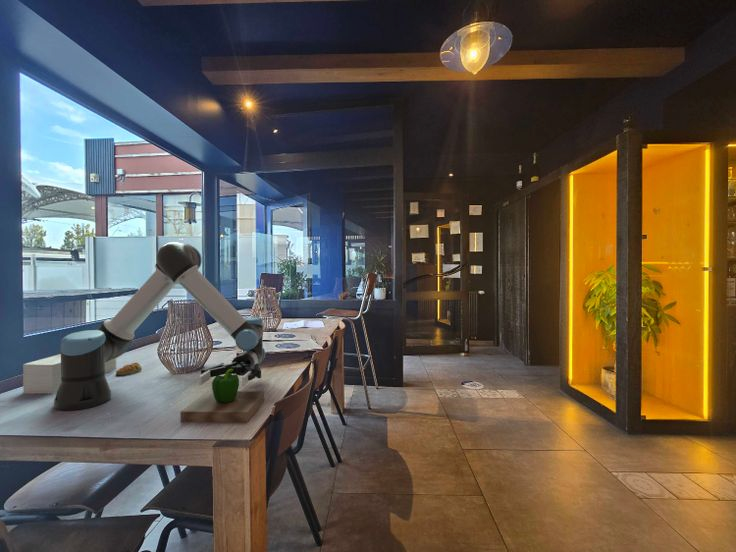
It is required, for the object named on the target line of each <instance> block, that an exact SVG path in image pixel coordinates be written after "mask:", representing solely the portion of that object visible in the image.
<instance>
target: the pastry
mask: <svg viewBox="0 0 736 552" xmlns="http://www.w3.org/2000/svg"><path fill="white" fill-rule="evenodd" d="M142 370H143V368H142V366H141V364H140V363H139V362H133V363H130V364H125V365H124V366H123V367H121V368H119V369H118V370H116V371H115V376H121V377H122V376H123V375H124V376H128V375H133V374H136V373H140V372H141V371H142Z"/></svg>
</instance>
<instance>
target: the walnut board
mask: <svg viewBox="0 0 736 552" xmlns="http://www.w3.org/2000/svg"><path fill="white" fill-rule="evenodd" d="M264 401H265V391H259V390H258V391H247V390H242V391H241V390H238V392H237V395H236V397H235V399H234V401H232V402H229V403H223V402H217V401H216V400H215V397H214V394H213V390H206V391H205V392H204V393H202V394H201V395H200V396H199V397H198V398H196V399H194V400H193V401H192V402H191V403H190V404H189V405H187V406H186V407H184V408H183V409H182V410H180V414H179V415H180V417H179V419H180V422H193V421H195V423H196V422H198V421H200V422H199V423H201V422H202V423H203V421H205V422H204V423H206V422H209V423H210V422H212V423H213V422H214V423H248V422H249V420H251V418H252V416H253V415H254V414H255V413H256V411H257V410H258V409H259V408H260V406H261V405H262V403H264Z"/></svg>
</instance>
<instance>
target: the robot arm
mask: <svg viewBox="0 0 736 552" xmlns="http://www.w3.org/2000/svg"><path fill="white" fill-rule="evenodd" d="M202 261H203V260H202V254H201V253H200V251H199V250H198V249H197V248H196V247H194V246H192V244H188V243H180V242H177V241H172V242H168V243H166V244H164V245H162V246H161V247H160V248H159V249H158V251H157V253H156V263H155V264H154V267H155V271H154V272H153V273H152V274H151V276H150V277H148V279H147V280H146V281H145V282H144V283H143V284H142V285H141V287H140V288H139V289H137V291H136V292H135V293H134V294H133V296H132V297H130V299H129V300H128V301H127V302H126V303H125V305H123V307H121V309H120V310H119V311H118V312H117V313H116V314H115V316H114V317H113V318H110V319H109V318H108V319H105V320H104V321H103V322H102V323H101V324H100V326H98V328H97V329H92V330H91V329H90V330H81V331H77V332H76V331H75V332H73V333H69V334H67V335H66V336H64V337H62V339H61V343H60V344H61V345H60V348H59V349H60V351H59V352H60V354H61V384H60V387H59V389H58V392H56V395H55V397H54V400H53V407H54V408H53V409H54V410H58V411H77V410H83V409H89V408H93V407H95V406H99V405H102V404H105V403H107V402H108V401H109V400H111V399H112V391H111V389H110V386H109V383H108V381H107V378H106V373H105V363H106V362H108V361H110V360H112V359H115V358H116V359H117V358H119V357H121V356H122V355H124V354H125V352H126V351H127V350H128V349H129V347H130V344H131V342H132V341H133V339H135V336H136V335H135V331H136V330H137V329H138V328H139V326H140V325H142V323H143V322H144V321H145V320H146V319H147V317H149V315H151V313H152V312H153V310H155V309H156V308H157V307H158V305H159V304H160V303H161V302H162V301H163V300H164V298H165V297H167V295H168V294H169V293H170V292H171V290H172V289H173V288H174V287H175V286H176V285H180V286H182V288H184V290H185V291H186V292H188V294H189V295H191V297H192V298H193V299H194V300H195V301H196V302H197V303H198V304H199V305H200V306H201V307H202V308H203V310H204V311H206V312H207V313H208V314H209V315H210V316H211V317H212V319H214V320H215V322H216V323H217V324H219V326H221V327H222V328H223V330H224V331H226V332H227V333H228V335H230V336H231V338H232V339H233V340H234V341H235V342H234V343H235V345H236V347H237V348H238V350H241V351H242V352H241V353H239V354H238V355H237V356H235V357H234V358H233V359H232V361H231V362H230V363H227V364H225V363H224V362H221V363H218V364H217V365H216V364H215V365H212V366H208V367H205V368H203V369H200V375H199V376H198V385H199V386H203V384H205V383H207V382H208V381H209V380H211V378H213V377H214V378H215V377H216V376H224V375H225V374H226V371H227V370H229V369H233V371H232V372H229V374H232V375H238V377H240V376H242V377H241V385H242V386H246V385H247V384H248V383H249V382H250V381H253V380H254V379H256V378H258V379H261V378H262V369H261V368H260V366H259V364H261V363H263V360H264V359H265V357H266V350H265V348H264V346H263V345H264V344H263V337H264V336H263V335H264V334H263V331H264V330H263V328H264V324H263V323H264V322H263V319H262V317H255V316H254V317H252V316H251V317H246V318H245V317H244V316H243V315H242V314H241V313H240V312H239V311H238V310H237V309H236V308H235V307H234V306H233V305H232V304H231V302H229V301H228V300H227V299H226V298H225V296H223V294H222V293H221V292H220V291H219V290H218V289H217V288H216V287H215V286H214V285H213V284H212V283H211V282H210V281H209V280H208V279H207V278H206V277H205V276H204V274H203V273H201V272H200V271H199V269H200V268H201V266H202Z"/></svg>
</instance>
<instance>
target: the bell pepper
mask: <svg viewBox="0 0 736 552" xmlns="http://www.w3.org/2000/svg"><path fill="white" fill-rule="evenodd" d="M232 371H233V369H229V370H227V371H226V374H223V375H219V376H214V378H213V380H212V382H211V389H212V390H211V391H213V394H214V397H215V400H216V401H217V402H223V403H229V402H232V401H234V399H235V397H236V395H237V392H238V391H239V387H240V379H239V375H237V374H229V372H232Z"/></svg>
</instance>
